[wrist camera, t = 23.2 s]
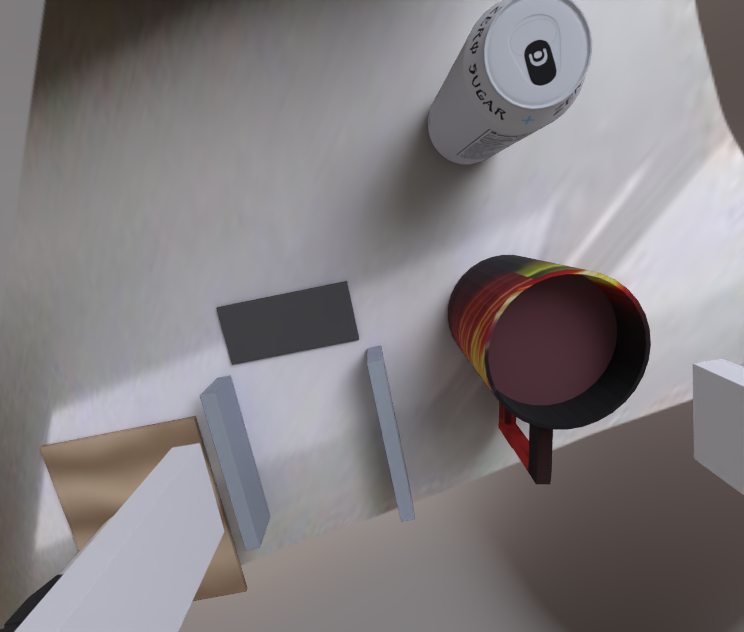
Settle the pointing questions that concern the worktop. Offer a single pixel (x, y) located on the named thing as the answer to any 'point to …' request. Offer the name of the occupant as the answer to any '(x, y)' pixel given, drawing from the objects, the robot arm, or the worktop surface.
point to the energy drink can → (510, 78)
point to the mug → (549, 347)
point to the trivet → (132, 487)
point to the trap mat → (288, 323)
